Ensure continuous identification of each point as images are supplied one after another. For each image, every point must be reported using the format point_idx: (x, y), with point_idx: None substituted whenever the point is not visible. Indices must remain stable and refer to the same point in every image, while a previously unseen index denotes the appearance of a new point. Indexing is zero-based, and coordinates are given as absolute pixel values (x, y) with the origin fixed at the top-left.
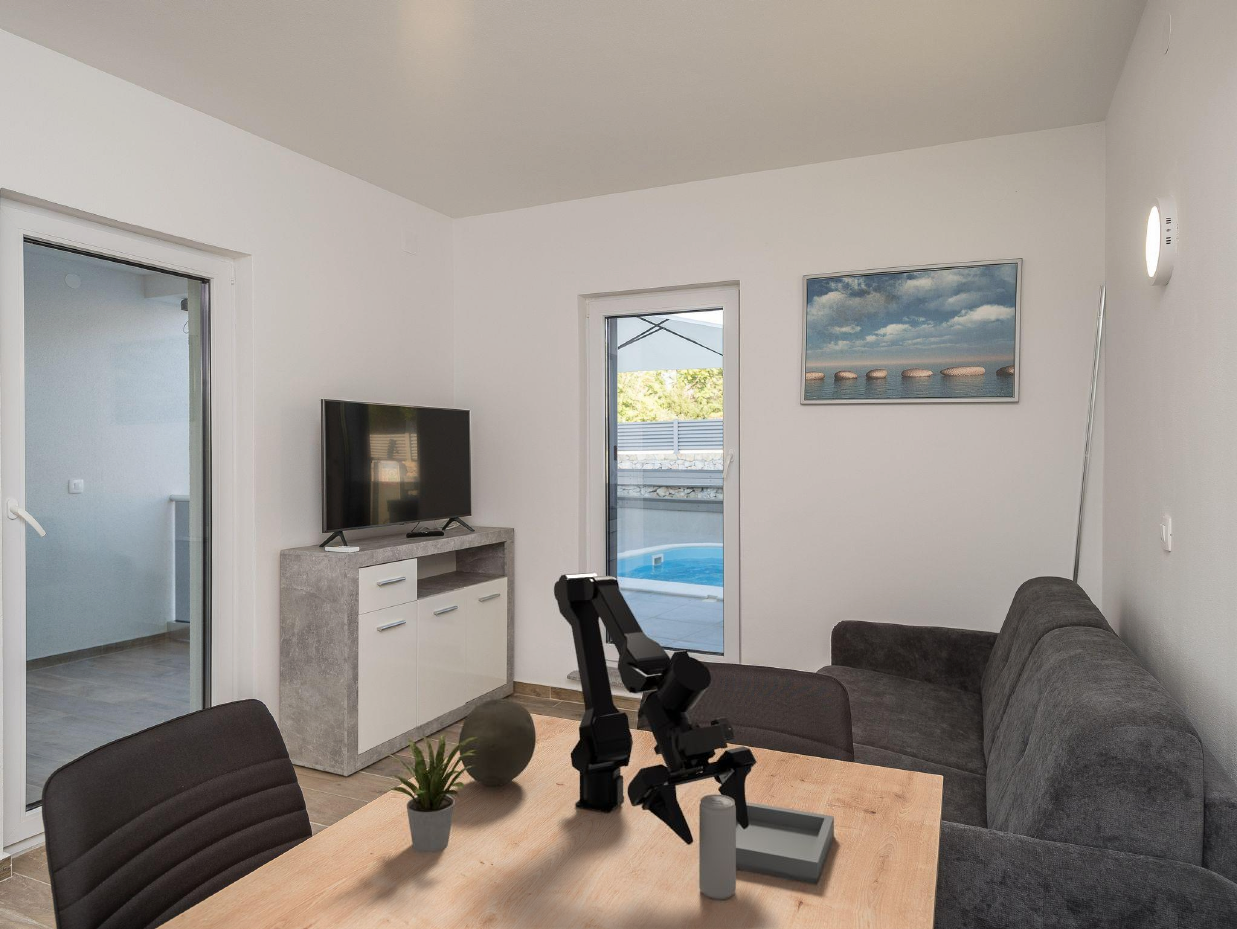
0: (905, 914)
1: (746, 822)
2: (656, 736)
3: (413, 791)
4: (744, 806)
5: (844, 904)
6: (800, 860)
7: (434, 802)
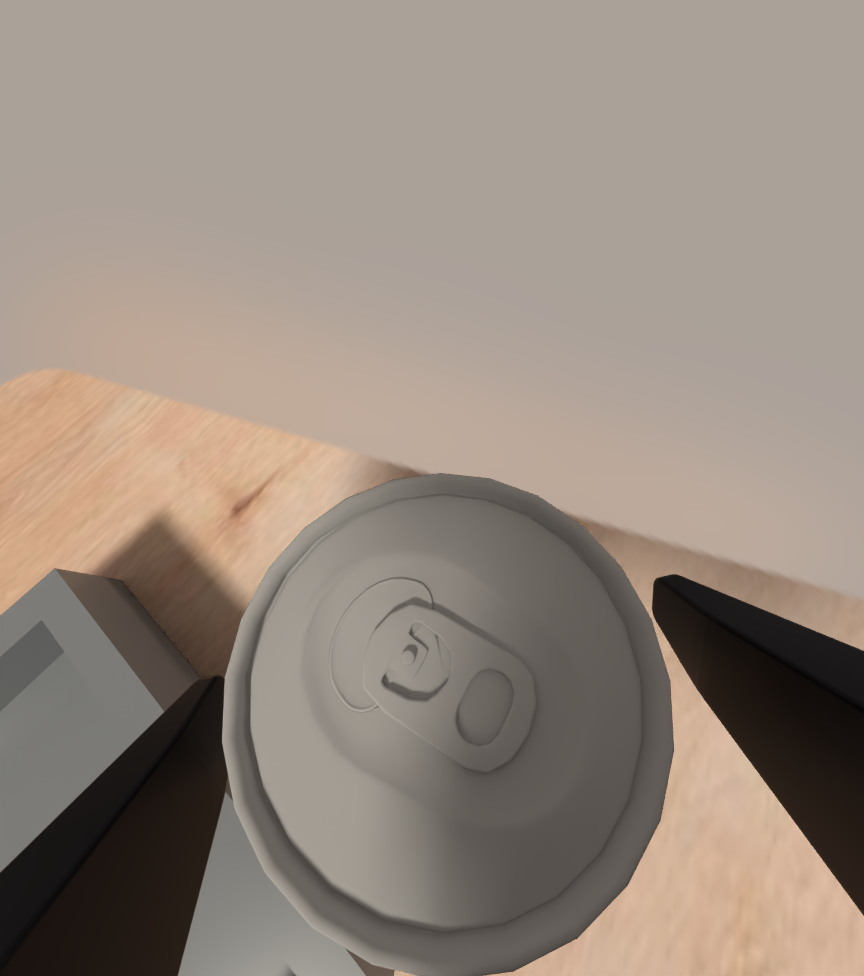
0: (47, 385)
1: (203, 687)
2: None
3: None
4: (94, 798)
5: (139, 463)
6: (93, 613)
7: None
